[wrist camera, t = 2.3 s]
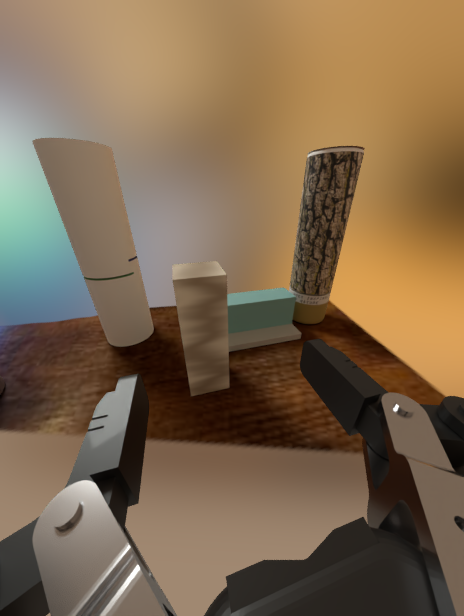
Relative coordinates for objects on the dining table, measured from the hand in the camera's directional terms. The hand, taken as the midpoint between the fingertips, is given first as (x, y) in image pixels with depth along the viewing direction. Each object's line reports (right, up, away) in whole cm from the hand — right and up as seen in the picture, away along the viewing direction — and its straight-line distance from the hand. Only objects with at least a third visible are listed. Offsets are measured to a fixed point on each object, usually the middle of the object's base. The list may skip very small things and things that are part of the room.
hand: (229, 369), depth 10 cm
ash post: (-3, -6, +15) cm, 17 cm away
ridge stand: (+3, -1, +25) cm, 25 cm away
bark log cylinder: (+14, +1, +28) cm, 32 cm away
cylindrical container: (-17, -1, +24) cm, 30 cm away
